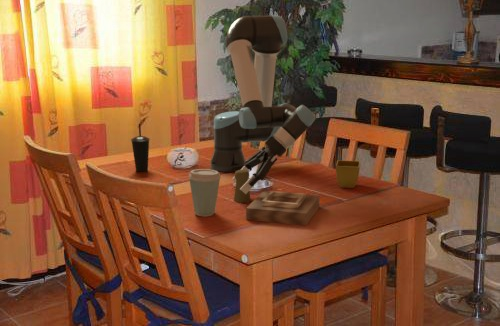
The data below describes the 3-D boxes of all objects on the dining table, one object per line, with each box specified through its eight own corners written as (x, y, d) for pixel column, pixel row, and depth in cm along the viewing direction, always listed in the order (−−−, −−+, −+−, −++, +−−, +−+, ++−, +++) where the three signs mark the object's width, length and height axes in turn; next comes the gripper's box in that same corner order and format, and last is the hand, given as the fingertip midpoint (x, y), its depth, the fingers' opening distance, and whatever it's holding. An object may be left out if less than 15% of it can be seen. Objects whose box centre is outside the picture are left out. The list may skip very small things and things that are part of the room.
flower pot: (358, 190, 252) (359, 166, 250) (335, 188, 254) (335, 165, 251) (359, 183, 260) (360, 161, 258) (336, 182, 262) (337, 160, 260)
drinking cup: (141, 167, 287) (139, 121, 282) (154, 170, 282) (152, 123, 277) (128, 171, 281) (126, 124, 276) (142, 174, 276) (139, 126, 271)
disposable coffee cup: (201, 207, 233) (200, 165, 230) (227, 211, 228) (226, 168, 224) (183, 215, 225) (181, 172, 221) (210, 220, 219) (209, 176, 216)
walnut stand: (246, 219, 220) (246, 203, 219) (263, 201, 238) (263, 187, 237) (306, 225, 214) (306, 208, 213) (319, 206, 233) (319, 191, 231)
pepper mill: (242, 196, 245) (242, 167, 242) (254, 200, 241) (253, 170, 238) (230, 200, 241) (229, 170, 238) (242, 203, 237) (241, 173, 234)
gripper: (297, 157, 228) (254, 203, 228) (277, 142, 251) (239, 183, 252) (281, 142, 225) (238, 189, 226) (264, 128, 249) (224, 170, 250)
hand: (238, 186), depth 239 cm, fingers open, 13 cm apart
